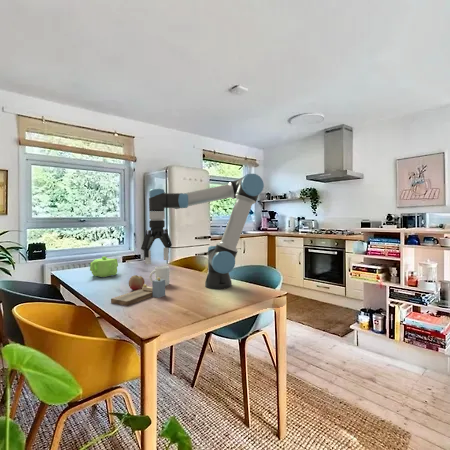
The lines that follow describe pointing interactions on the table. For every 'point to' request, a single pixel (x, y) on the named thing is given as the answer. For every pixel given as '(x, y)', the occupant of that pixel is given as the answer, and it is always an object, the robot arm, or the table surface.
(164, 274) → the mug
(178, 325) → the table surface
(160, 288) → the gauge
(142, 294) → the board
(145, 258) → the robot arm
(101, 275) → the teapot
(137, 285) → the fruit
